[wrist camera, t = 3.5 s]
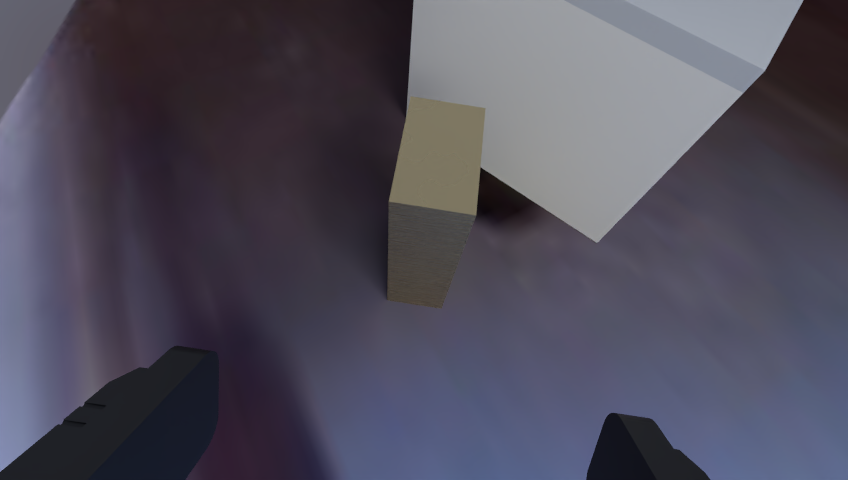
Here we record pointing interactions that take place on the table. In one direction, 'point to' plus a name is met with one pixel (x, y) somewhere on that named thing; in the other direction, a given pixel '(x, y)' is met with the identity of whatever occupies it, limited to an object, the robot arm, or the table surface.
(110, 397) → the robot arm
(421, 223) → the tan rectangular block
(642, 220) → the table surface
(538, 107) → the box
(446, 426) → the table surface
